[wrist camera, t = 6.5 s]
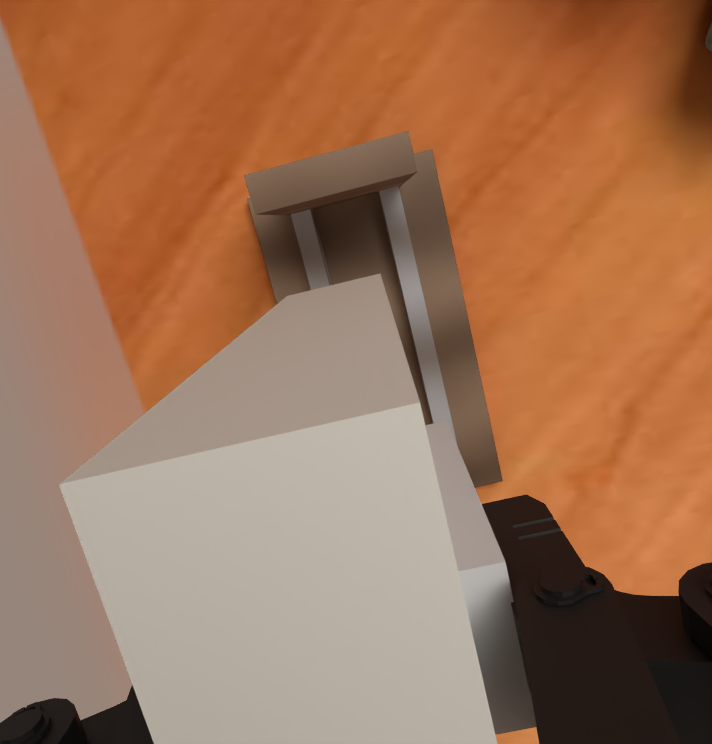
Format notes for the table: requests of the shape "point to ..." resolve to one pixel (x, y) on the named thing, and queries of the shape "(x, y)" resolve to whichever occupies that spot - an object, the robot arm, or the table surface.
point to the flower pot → (709, 38)
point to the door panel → (286, 543)
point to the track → (383, 267)
